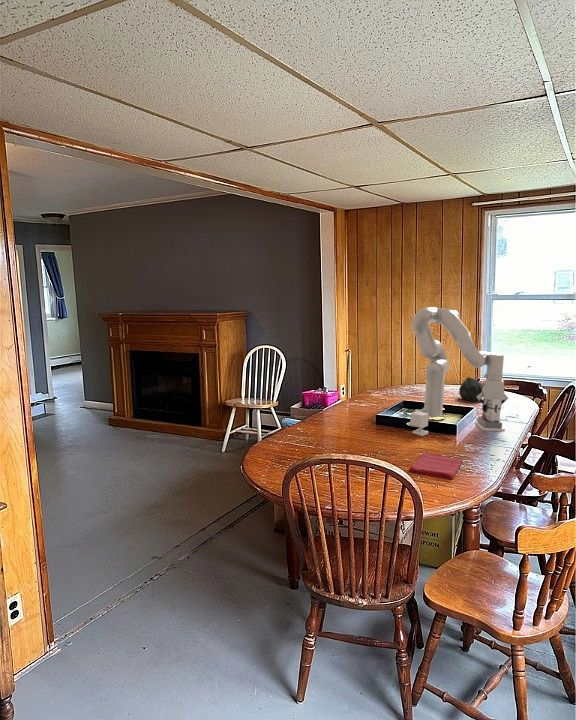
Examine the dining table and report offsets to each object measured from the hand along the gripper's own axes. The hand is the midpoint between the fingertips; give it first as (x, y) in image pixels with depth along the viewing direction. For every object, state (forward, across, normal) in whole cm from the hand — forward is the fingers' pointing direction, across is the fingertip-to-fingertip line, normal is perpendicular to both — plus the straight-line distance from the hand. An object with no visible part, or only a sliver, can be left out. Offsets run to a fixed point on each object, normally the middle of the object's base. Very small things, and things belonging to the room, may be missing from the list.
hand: (491, 411), depth 274 cm
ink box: (+4, 0, 0) cm, 4 cm away
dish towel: (+9, -41, -62) cm, 75 cm away
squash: (+8, +8, +61) cm, 62 cm away
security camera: (+8, -39, -16) cm, 43 cm away
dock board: (+8, 0, 0) cm, 8 cm away
